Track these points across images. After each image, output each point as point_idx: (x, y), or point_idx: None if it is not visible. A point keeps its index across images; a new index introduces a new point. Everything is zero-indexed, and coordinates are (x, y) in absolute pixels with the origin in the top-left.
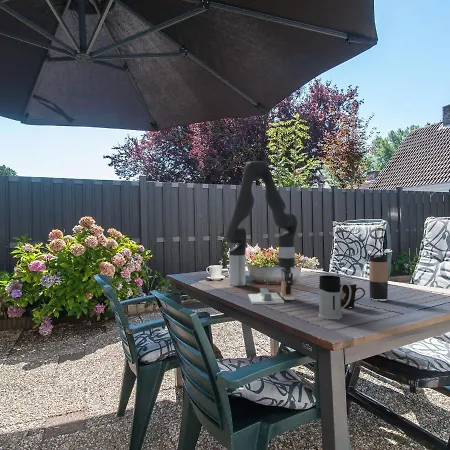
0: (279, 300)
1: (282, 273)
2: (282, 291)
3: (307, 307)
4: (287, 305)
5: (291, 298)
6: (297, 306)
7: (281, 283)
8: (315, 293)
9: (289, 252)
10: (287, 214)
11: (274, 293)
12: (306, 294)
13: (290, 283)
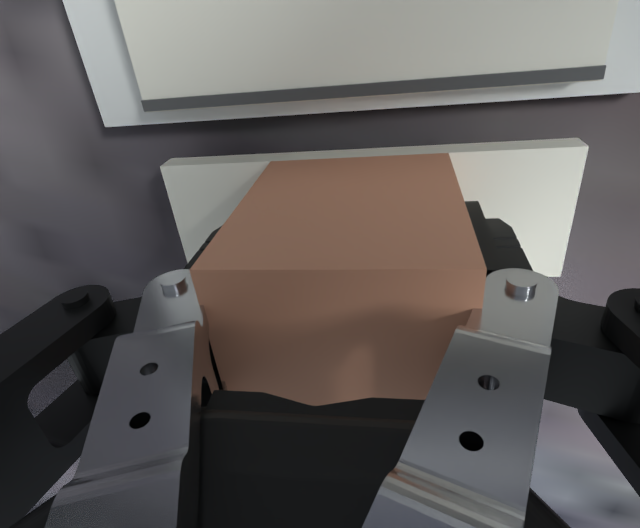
0: (127, 63)
1: (369, 517)
2: (359, 177)
3: (29, 311)
4: (37, 144)
5: (184, 240)
6: (32, 239)
7: (466, 239)
8: (605, 510)
9: None
10: None
11: (536, 21)
12: (585, 440)
13: (78, 378)
